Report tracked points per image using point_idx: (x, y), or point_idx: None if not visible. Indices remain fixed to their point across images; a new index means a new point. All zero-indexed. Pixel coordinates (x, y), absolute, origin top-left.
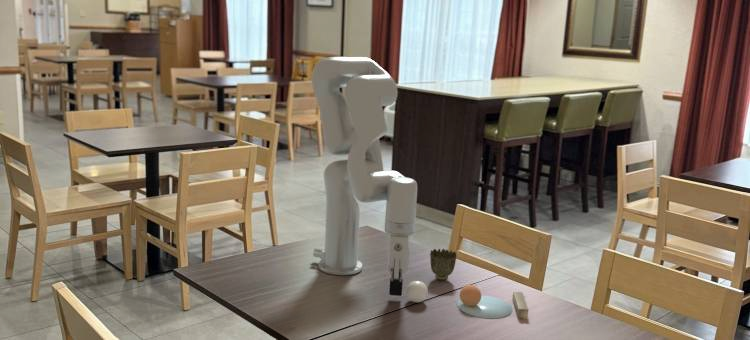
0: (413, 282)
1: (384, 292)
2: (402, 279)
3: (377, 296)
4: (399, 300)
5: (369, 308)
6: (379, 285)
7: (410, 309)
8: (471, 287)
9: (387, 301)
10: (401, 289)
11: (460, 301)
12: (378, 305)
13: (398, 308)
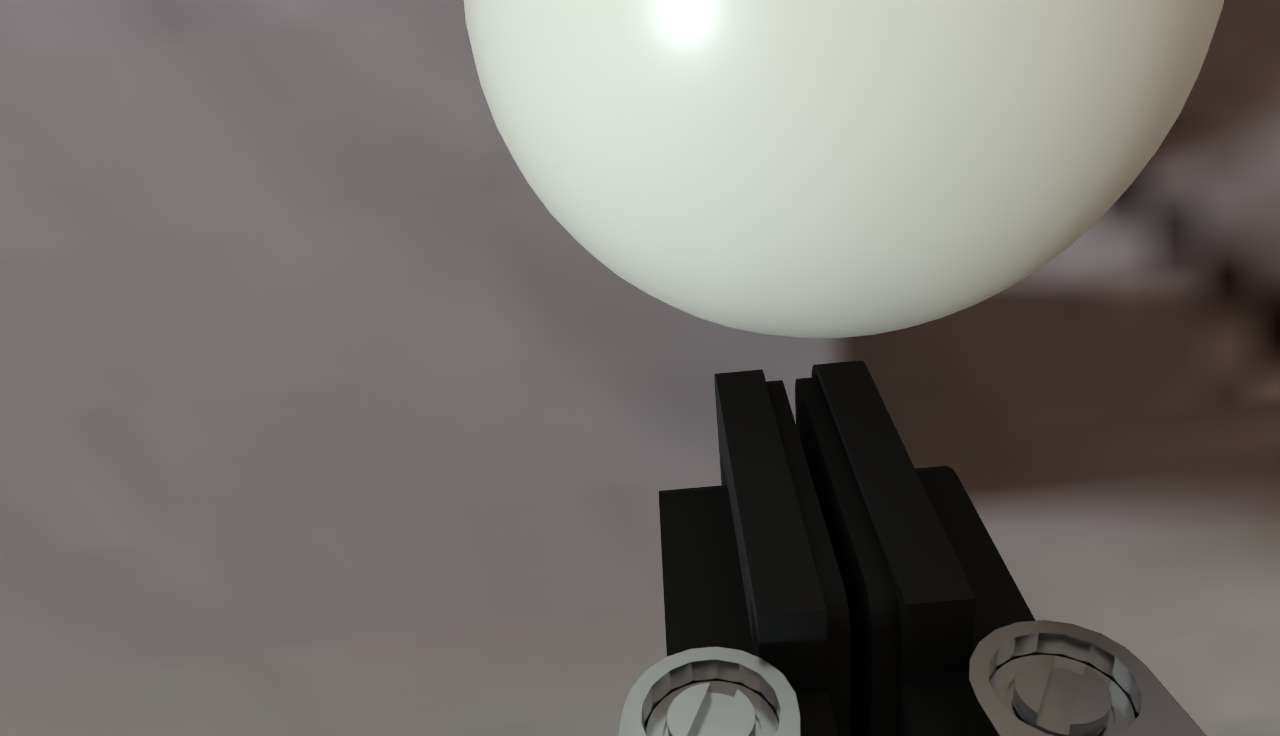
0: (935, 219)
1: (489, 614)
2: (786, 619)
3: None
4: None
5: (1209, 706)
6: (217, 718)
7: (1249, 41)
8: None
9: None
10: (894, 446)
11: None
12: (1080, 617)
13: (1198, 296)
